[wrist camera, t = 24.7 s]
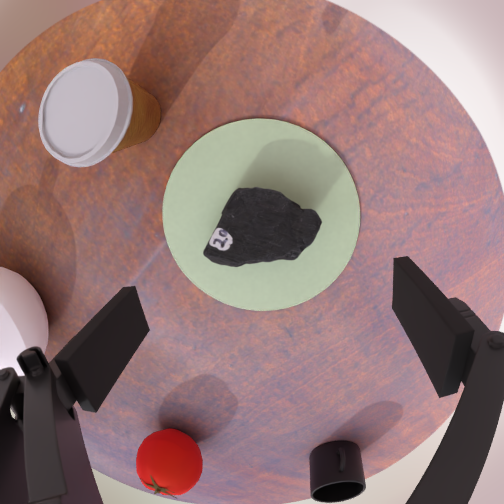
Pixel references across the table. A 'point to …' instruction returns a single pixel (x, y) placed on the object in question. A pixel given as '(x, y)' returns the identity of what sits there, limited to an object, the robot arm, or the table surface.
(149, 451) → the tomato
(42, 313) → the vase
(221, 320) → the table surface
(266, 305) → the mat
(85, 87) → the disposable coffee cup
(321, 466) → the mug
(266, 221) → the rock
